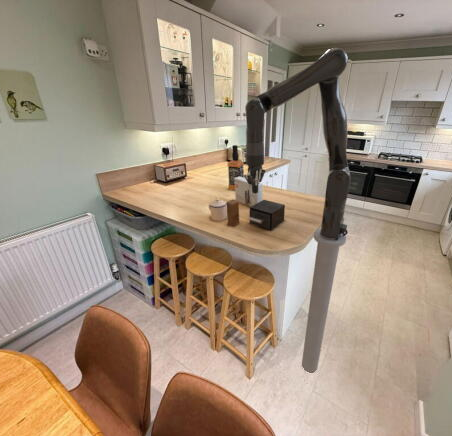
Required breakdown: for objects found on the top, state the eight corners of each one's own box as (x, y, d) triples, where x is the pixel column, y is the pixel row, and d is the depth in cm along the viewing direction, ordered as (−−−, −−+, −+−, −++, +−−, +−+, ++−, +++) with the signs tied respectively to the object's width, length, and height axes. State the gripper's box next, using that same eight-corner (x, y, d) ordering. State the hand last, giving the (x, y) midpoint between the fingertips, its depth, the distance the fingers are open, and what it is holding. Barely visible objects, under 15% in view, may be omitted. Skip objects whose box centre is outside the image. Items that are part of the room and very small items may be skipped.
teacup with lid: (230, 217, 133) (229, 198, 128) (219, 223, 127) (217, 203, 122) (215, 211, 140) (214, 193, 135) (204, 217, 133) (202, 198, 128)
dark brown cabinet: (271, 230, 120) (271, 213, 115) (250, 223, 126) (249, 207, 122) (284, 220, 130) (284, 204, 125) (263, 214, 136) (263, 199, 132)
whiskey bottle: (228, 189, 176) (225, 146, 162) (233, 185, 185) (231, 144, 171) (240, 191, 173) (239, 146, 159) (245, 187, 182) (244, 144, 168)
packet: (239, 223, 127) (238, 200, 121) (233, 226, 123) (232, 203, 118) (233, 221, 129) (232, 199, 123) (227, 224, 125) (226, 202, 120)
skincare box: (234, 200, 156) (233, 177, 149) (241, 198, 160) (240, 176, 153) (256, 209, 143) (256, 185, 136) (263, 207, 146) (263, 183, 139)
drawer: (264, 232, 116) (265, 218, 112) (245, 226, 122) (244, 212, 118) (281, 220, 128) (281, 207, 124) (262, 215, 134) (262, 202, 131)
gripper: (253, 156, 89) (253, 199, 96) (271, 151, 99) (270, 190, 106) (237, 154, 93) (239, 195, 100) (256, 149, 102) (256, 187, 110)
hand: (255, 192), depth 103 cm, fingers closed
